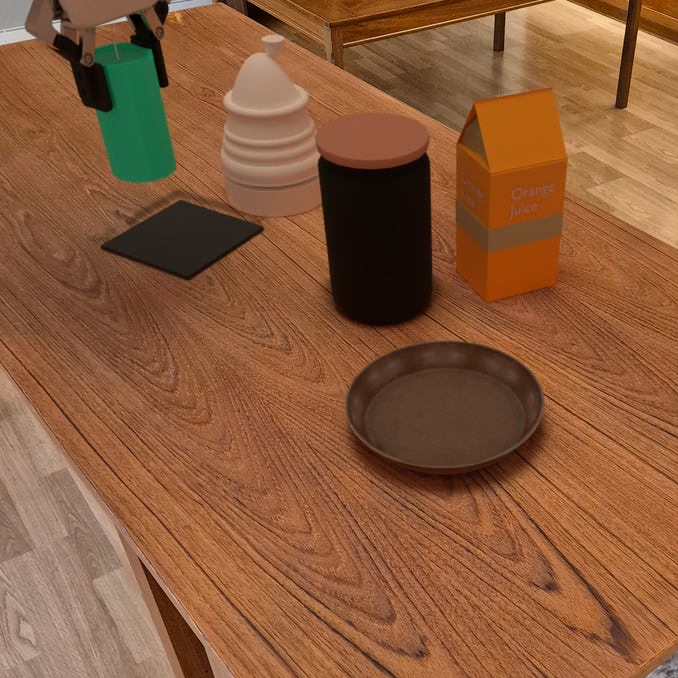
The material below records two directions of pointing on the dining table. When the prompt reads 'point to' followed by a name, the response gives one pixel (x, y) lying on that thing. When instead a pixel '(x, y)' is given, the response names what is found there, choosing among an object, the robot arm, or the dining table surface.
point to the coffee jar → (377, 215)
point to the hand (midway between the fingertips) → (126, 94)
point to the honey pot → (269, 140)
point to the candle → (134, 115)
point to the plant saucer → (444, 406)
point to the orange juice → (510, 194)
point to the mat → (183, 239)
